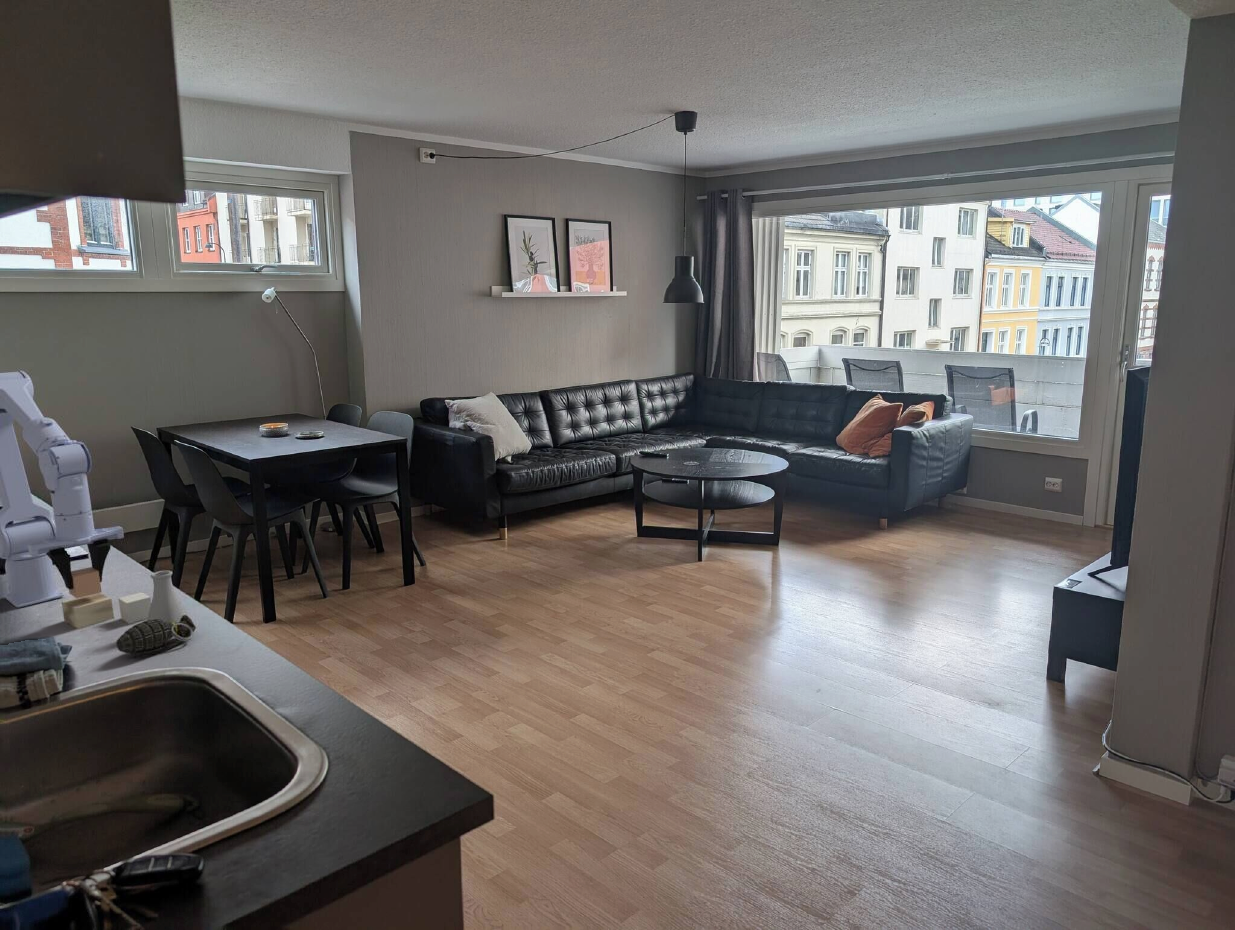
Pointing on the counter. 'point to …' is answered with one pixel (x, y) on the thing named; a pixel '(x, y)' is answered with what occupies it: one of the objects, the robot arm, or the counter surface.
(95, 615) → the beech block
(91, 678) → the counter surface
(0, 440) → the robot arm
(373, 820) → the counter surface
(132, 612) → the cream cube
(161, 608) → the flask
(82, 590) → the brown cube
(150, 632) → the grenade
